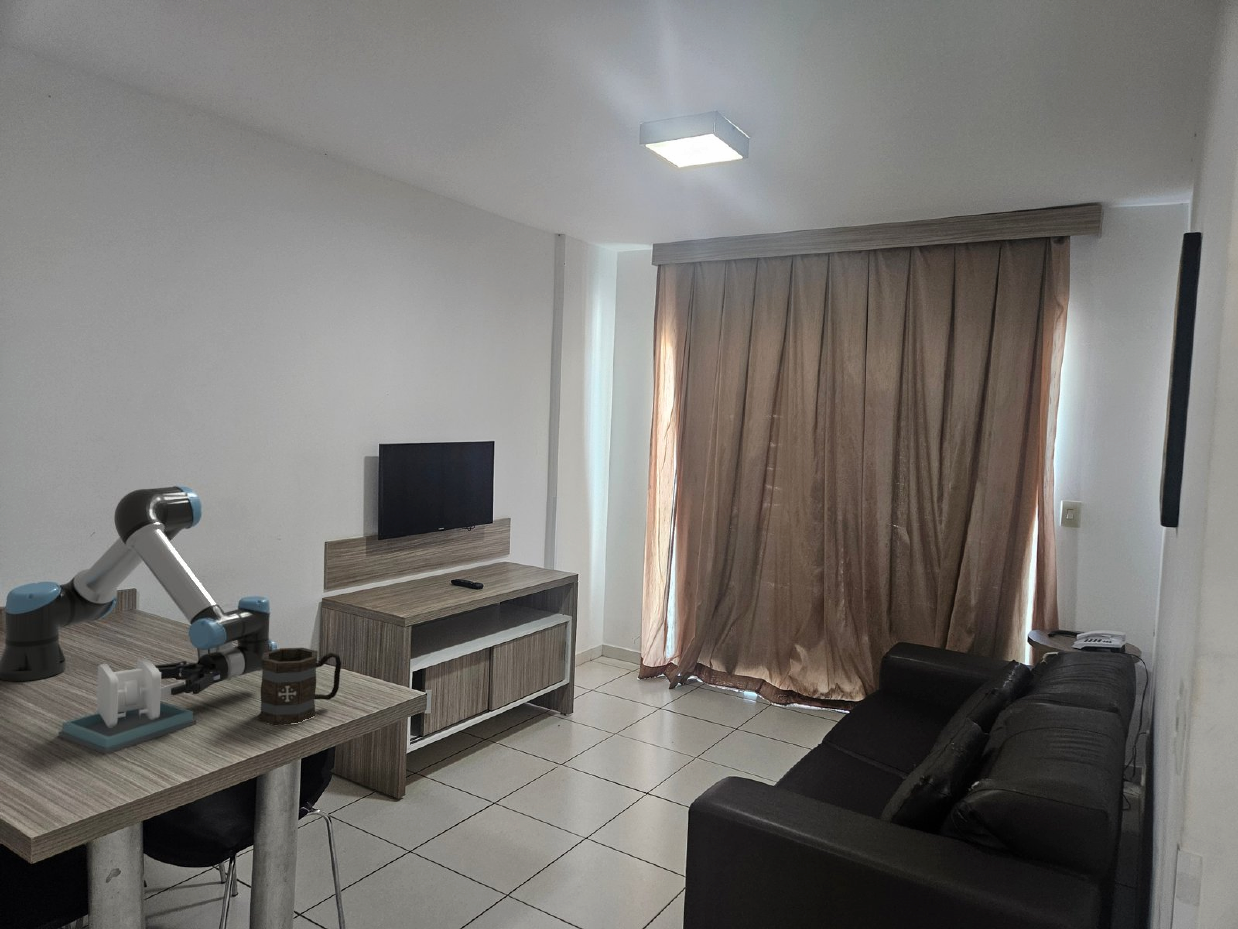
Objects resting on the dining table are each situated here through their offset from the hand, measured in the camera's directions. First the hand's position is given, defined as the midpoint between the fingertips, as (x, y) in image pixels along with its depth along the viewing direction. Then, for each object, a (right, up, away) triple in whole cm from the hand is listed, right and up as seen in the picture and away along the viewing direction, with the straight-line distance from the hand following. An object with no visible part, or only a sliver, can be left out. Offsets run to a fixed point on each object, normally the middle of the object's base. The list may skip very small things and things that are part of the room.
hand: (136, 689), depth 185 cm
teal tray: (-1, -9, -1) cm, 9 cm away
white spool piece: (-2, -6, -1) cm, 7 cm away
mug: (+31, -11, +16) cm, 36 cm away
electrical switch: (-6, -6, +48) cm, 49 cm away
